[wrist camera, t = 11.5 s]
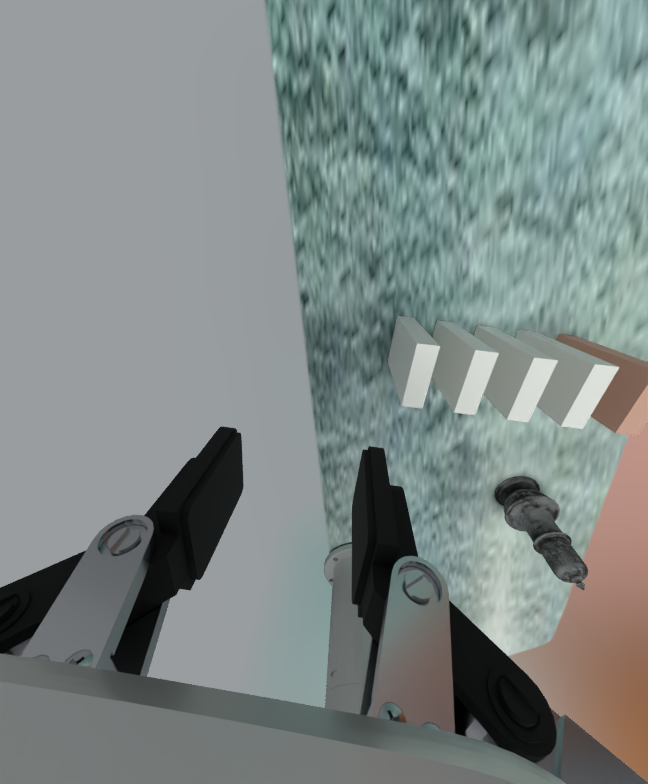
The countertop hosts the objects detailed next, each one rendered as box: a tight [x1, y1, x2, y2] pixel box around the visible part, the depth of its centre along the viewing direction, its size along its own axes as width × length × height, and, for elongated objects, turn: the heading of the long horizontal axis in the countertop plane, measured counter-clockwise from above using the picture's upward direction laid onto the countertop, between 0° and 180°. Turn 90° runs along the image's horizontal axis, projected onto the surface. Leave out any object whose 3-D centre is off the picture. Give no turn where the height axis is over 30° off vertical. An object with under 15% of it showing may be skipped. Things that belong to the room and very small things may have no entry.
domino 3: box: [474, 325, 558, 422], centre depth 25 cm, size 5×2×10 cm, turn 175°
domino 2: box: [432, 320, 499, 415], centre depth 25 cm, size 5×2×10 cm, turn 174°
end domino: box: [556, 334, 648, 436], centre depth 25 cm, size 5×2×10 cm, turn 175°
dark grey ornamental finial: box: [495, 476, 588, 590], centre depth 31 cm, size 6×6×12 cm
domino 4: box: [515, 330, 619, 429], centre depth 25 cm, size 5×2×10 cm, turn 175°
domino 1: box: [388, 316, 440, 408], centre depth 25 cm, size 5×2×10 cm, turn 175°
